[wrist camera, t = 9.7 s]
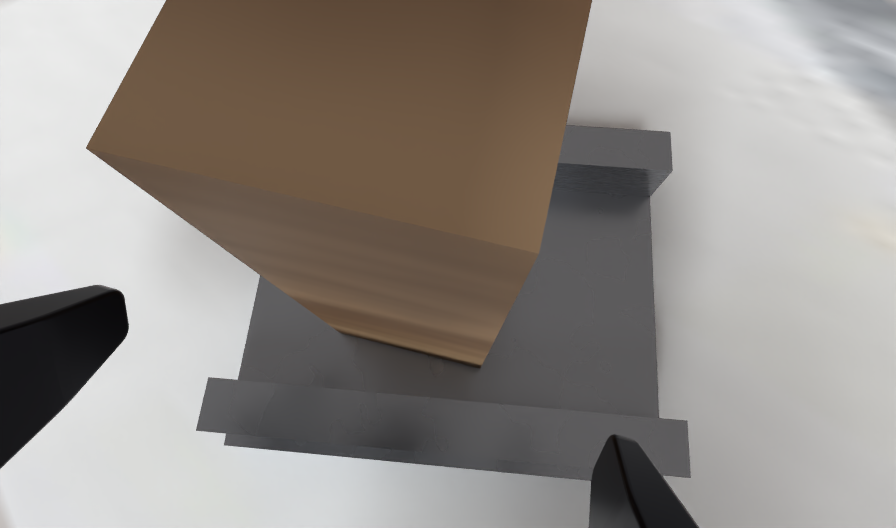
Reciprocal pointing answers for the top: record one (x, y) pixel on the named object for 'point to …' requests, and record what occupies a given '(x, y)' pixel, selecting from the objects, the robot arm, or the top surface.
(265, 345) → the bottom track
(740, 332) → the top surface
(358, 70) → the walnut block
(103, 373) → the top surface
